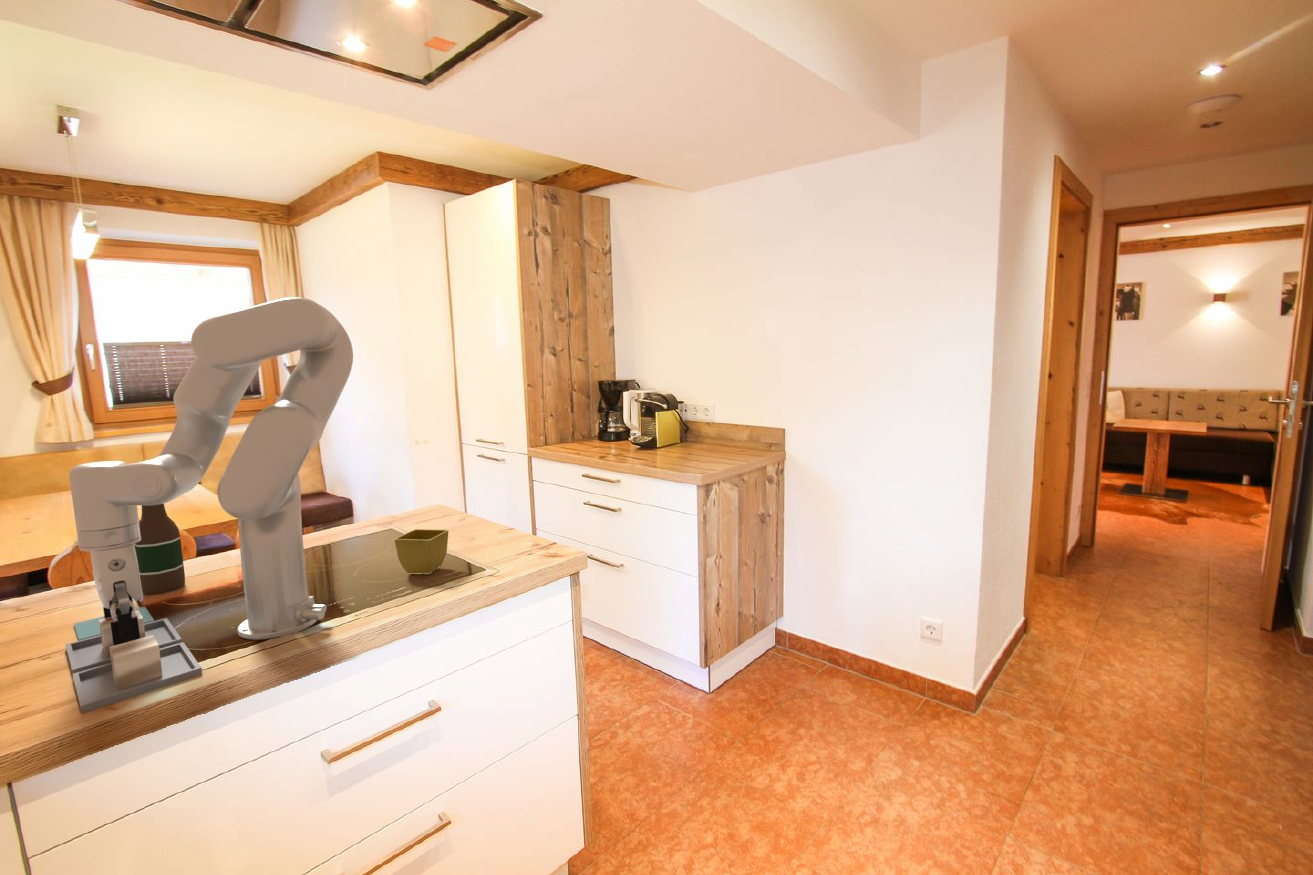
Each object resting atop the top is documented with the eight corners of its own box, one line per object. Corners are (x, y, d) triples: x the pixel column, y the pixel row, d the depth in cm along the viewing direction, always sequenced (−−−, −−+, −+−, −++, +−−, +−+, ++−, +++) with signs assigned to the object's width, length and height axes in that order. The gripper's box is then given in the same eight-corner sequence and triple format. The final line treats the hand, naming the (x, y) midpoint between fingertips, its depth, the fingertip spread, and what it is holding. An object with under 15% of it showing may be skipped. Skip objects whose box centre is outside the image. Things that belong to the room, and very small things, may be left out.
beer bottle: (158, 596, 121) (145, 484, 118) (129, 594, 123) (115, 483, 120) (195, 583, 129) (182, 477, 126) (167, 581, 130) (154, 476, 127)
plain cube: (162, 675, 88) (158, 644, 87) (118, 689, 84) (113, 657, 84) (156, 665, 91) (152, 635, 91) (113, 677, 88) (109, 646, 87)
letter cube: (146, 646, 98) (142, 616, 97) (106, 657, 94) (102, 627, 94) (141, 637, 101) (138, 609, 101) (102, 648, 97) (98, 618, 97)
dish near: (202, 676, 88) (201, 667, 88) (82, 715, 79) (80, 706, 78) (184, 649, 97) (183, 641, 97) (73, 682, 87) (72, 673, 87)
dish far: (182, 646, 98) (181, 638, 98) (73, 678, 88) (72, 669, 88) (167, 625, 107) (166, 617, 107) (66, 651, 97) (65, 644, 97)
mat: (154, 624, 107) (154, 620, 107) (79, 643, 100) (78, 639, 100) (145, 610, 114) (145, 606, 114) (74, 627, 106) (73, 623, 106)
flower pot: (417, 564, 138) (414, 528, 137) (451, 565, 137) (449, 529, 136) (396, 577, 130) (393, 539, 129) (432, 579, 129) (429, 540, 128)
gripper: (148, 540, 92) (161, 641, 94) (132, 522, 104) (143, 613, 106) (83, 551, 87) (97, 658, 89) (73, 531, 98) (86, 627, 100)
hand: (122, 633), depth 97 cm, fingers open, 9 cm apart
